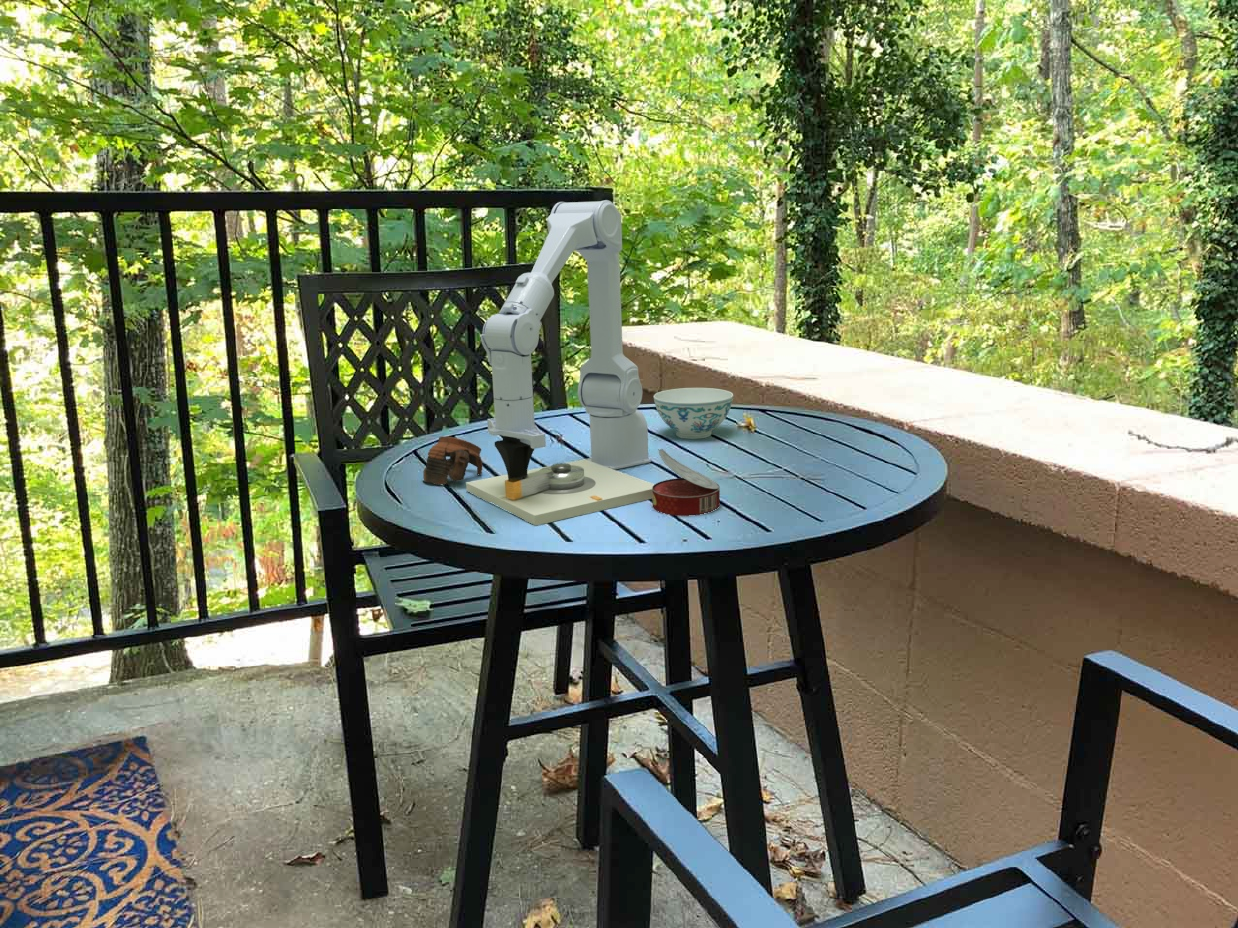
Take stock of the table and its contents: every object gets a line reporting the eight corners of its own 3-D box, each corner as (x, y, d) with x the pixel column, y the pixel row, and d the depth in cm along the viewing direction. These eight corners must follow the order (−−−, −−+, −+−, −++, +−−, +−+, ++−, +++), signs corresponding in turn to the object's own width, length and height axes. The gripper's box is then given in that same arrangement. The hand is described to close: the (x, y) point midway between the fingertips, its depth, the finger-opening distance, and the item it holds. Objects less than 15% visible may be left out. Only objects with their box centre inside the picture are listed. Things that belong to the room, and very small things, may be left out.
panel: (584, 467, 167) (584, 458, 166) (662, 496, 149) (661, 485, 149) (466, 491, 155) (465, 481, 154) (535, 525, 137) (534, 514, 137)
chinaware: (737, 442, 180) (736, 401, 178) (655, 445, 181) (654, 403, 179) (729, 425, 195) (729, 386, 193) (654, 427, 195) (653, 388, 193)
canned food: (673, 526, 150) (685, 463, 152) (728, 531, 144) (740, 465, 145) (628, 509, 142) (641, 442, 144) (684, 513, 135) (697, 443, 137)
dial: (562, 474, 156) (561, 457, 156) (593, 482, 152) (593, 464, 151) (494, 495, 146) (493, 477, 146) (525, 503, 142) (524, 484, 141)
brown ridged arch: (412, 481, 164) (426, 435, 165) (463, 498, 168) (477, 453, 169) (433, 479, 153) (448, 429, 155) (488, 497, 157) (502, 448, 159)
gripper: (467, 393, 147) (473, 480, 151) (512, 408, 136) (517, 502, 139) (509, 387, 151) (514, 472, 154) (556, 401, 139) (560, 493, 143)
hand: (518, 486), depth 147 cm, fingers closed, pressing on dial
